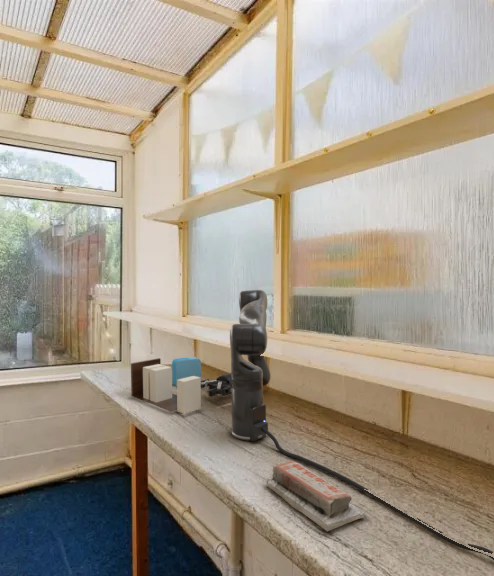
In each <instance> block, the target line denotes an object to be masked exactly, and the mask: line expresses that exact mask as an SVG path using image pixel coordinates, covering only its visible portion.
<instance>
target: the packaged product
mask: <svg viewBox="0 0 494 576" xmlns="http://www.w3.org/2000/svg"><path fill="white" fill-rule="evenodd" d="M266 487H267V488H269V489H271V490H272V491H273V492H275V493H276V494H277V495H278V496H279V497H280V498H282V499H283V500H284V501H285V502H286V503H288V504H289V505H290V506H291V507H292V508H293V509H295V510H297V511H298V512H300V513H302V514H303V515H304V516H306V517H307V518H309V519H310V520H311V521H312V522H314V523H315V524H317V525H318V526H319V527H321V528H322V529H323V530H324V531H326V532H329V531H332V530H335V529H337V528H339V527H342V526H344V525H347V524H349V523H352V522H354V521H357V520H359V519H364V518H365V511H364V510H362V509H360V508H358V507H357V506H356V505H354V504H352V503H351V501H352V500H353V499H352V495H350V494H348V493H347V492H345V491H344V490H342V489H340V488H339V487H337V486H335V485H334V484H332V483H330V482H329V481H328V480H325V479H324V478H323V477H321V476H319V475H317V474H316V473H314V472H313V471H311V470H310V469H308V468H306V467H305V466H304V465H301V464H300V463H299V462H296V461H287V462H284V463H280V464H276V465H274V466H273V467H272V478H267V480H266Z"/></svg>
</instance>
